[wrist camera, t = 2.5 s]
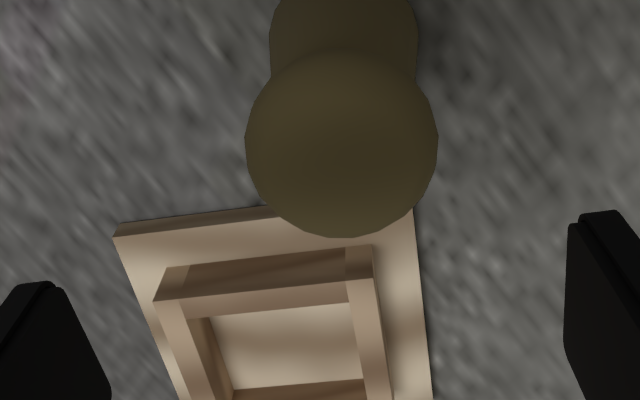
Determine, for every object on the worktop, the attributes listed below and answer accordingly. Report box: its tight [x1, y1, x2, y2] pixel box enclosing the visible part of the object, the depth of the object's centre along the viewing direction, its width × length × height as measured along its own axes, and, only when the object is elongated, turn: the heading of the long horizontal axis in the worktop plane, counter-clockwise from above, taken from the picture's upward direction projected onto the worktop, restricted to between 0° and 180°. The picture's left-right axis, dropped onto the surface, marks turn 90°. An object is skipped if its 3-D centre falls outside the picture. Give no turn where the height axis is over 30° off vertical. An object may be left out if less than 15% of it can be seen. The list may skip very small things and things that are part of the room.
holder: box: [112, 205, 433, 400], centre depth 30 cm, size 14×14×4 cm
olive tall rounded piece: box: [244, 0, 439, 238], centre depth 20 cm, size 6×6×11 cm
